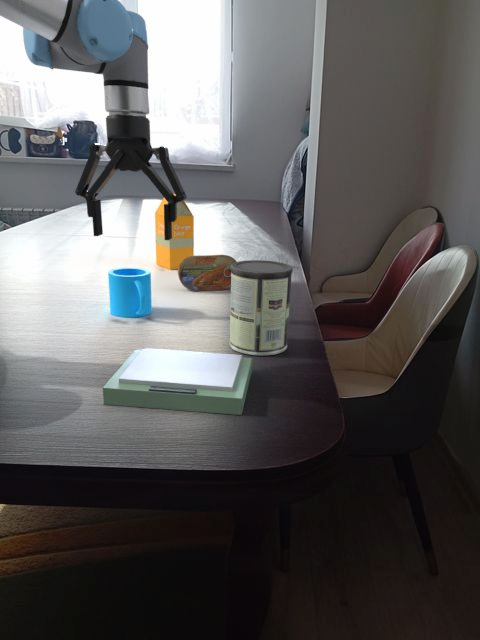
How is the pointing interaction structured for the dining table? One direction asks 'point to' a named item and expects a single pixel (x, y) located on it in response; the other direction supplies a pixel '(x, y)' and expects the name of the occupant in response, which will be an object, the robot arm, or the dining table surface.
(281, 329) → the coffee can
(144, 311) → the mug
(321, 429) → the dining table surface
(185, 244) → the orange juice
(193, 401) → the scale
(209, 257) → the tin
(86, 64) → the robot arm
